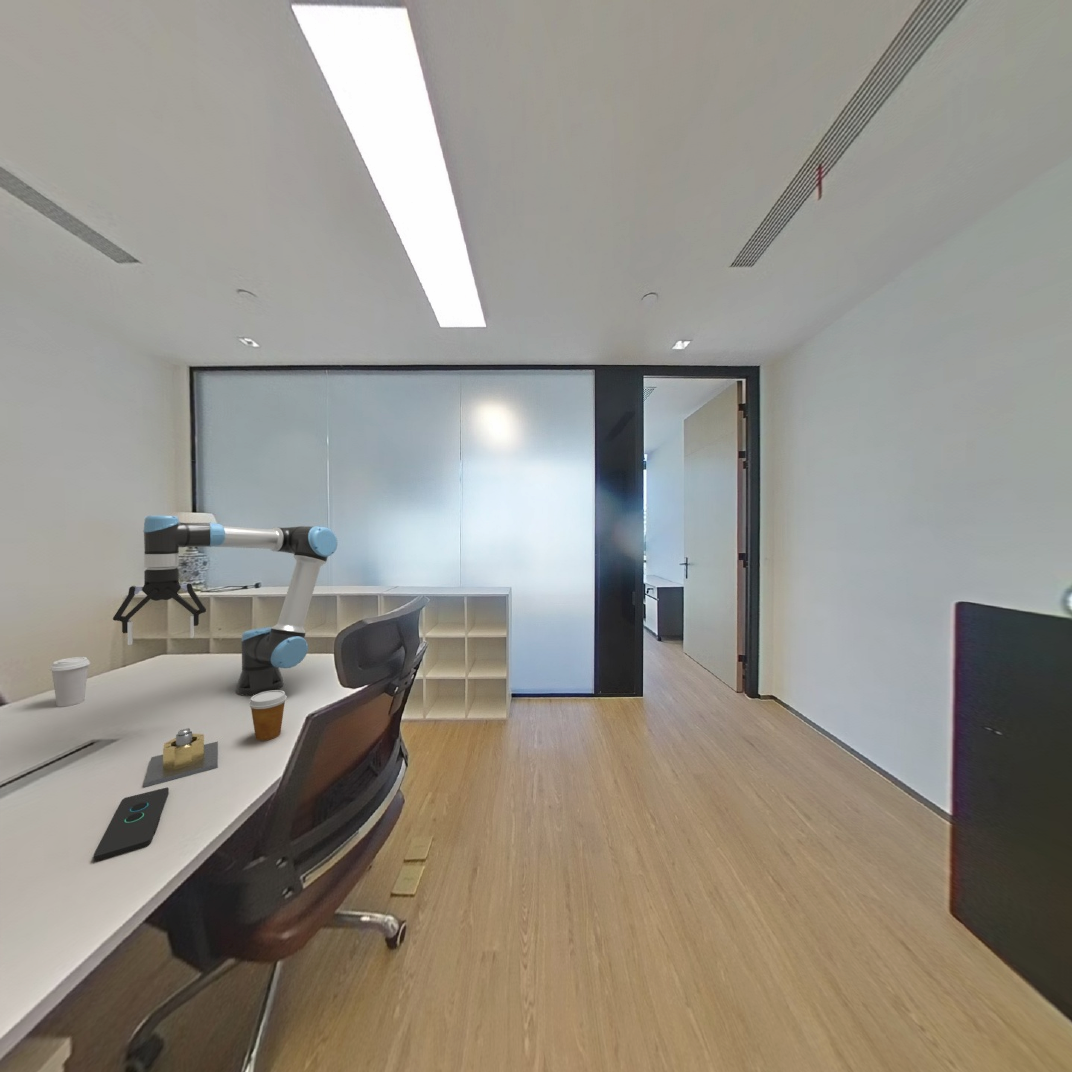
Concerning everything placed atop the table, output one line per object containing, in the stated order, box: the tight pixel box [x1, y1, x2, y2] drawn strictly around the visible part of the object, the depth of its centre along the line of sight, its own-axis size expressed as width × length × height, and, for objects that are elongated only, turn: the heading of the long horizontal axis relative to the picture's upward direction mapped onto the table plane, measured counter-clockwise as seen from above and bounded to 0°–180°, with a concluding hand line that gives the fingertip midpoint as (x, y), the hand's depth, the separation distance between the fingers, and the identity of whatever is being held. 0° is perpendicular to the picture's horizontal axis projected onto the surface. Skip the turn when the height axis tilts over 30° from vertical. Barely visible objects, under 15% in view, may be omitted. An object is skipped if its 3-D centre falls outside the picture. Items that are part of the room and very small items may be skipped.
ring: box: [162, 733, 205, 770], centre depth 109 cm, size 8×8×5 cm
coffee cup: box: [49, 656, 91, 708], centre depth 146 cm, size 10×10×15 cm
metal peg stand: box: [143, 728, 219, 788], centre depth 109 cm, size 14×14×9 cm
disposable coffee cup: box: [248, 689, 288, 741], centre depth 125 cm, size 10×10×12 cm
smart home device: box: [93, 787, 170, 863], centre depth 88 cm, size 8×2×20 cm
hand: (162, 640), depth 123 cm, fingers open, 13 cm apart
